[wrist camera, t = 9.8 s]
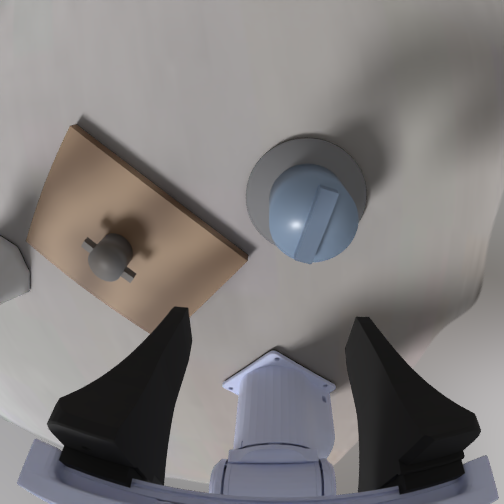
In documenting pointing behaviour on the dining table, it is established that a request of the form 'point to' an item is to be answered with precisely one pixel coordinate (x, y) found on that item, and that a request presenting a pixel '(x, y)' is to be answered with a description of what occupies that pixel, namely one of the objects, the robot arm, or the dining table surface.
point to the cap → (311, 214)
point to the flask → (12, 272)
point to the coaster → (295, 155)
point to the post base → (126, 235)
